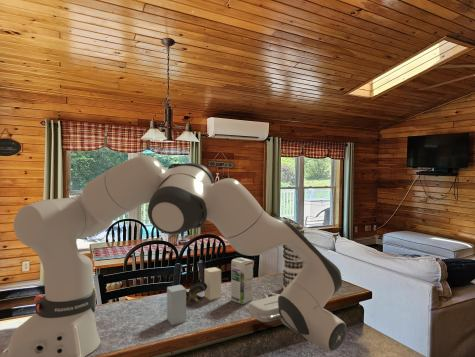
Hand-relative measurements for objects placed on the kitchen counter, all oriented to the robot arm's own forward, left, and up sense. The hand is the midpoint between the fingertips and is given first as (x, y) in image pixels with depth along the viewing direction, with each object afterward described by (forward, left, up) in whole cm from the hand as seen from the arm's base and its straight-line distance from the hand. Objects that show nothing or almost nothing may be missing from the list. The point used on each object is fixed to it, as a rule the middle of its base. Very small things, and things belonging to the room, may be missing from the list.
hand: (266, 295), depth 102 cm
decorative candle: (+23, +14, -7) cm, 28 cm away
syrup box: (0, +14, -7) cm, 16 cm away
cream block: (-8, +22, -7) cm, 25 cm away
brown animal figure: (-16, +22, -7) cm, 28 cm away
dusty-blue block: (-26, +11, -7) cm, 29 cm away
